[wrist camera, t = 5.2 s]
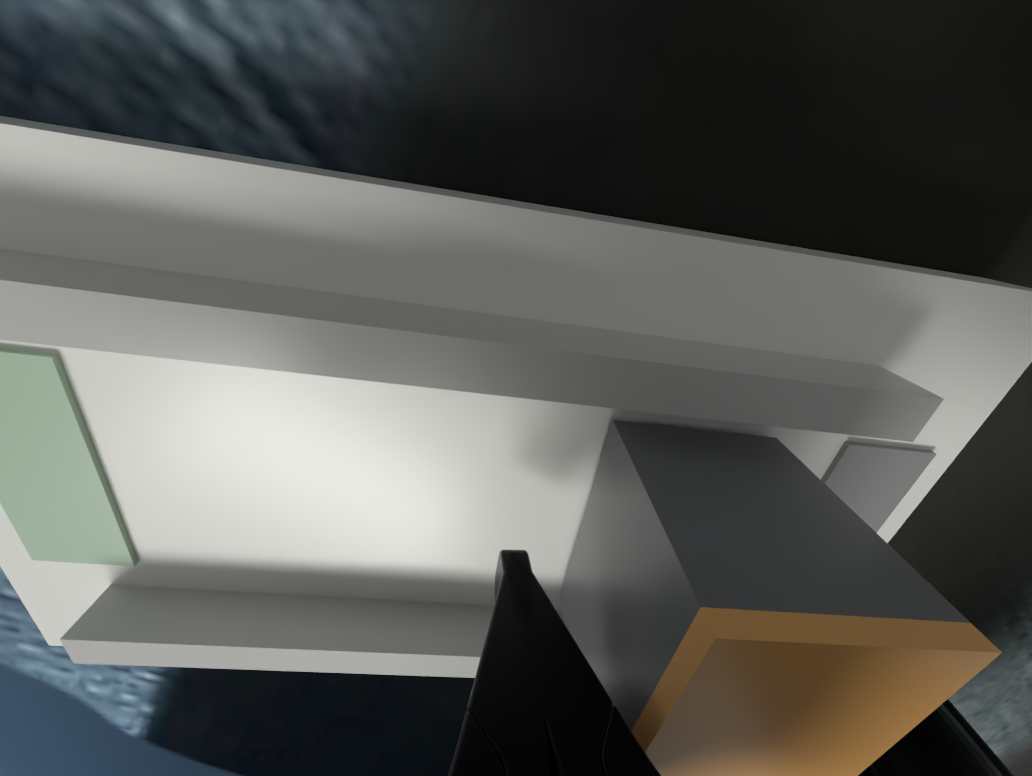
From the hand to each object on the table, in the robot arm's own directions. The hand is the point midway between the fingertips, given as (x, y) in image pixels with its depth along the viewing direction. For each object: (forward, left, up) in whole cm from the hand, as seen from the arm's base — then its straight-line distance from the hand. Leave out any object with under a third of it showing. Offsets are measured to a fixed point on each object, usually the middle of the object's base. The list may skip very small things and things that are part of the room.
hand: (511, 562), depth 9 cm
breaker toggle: (-4, 0, -2) cm, 4 cm away
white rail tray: (+1, 0, -4) cm, 4 cm away
